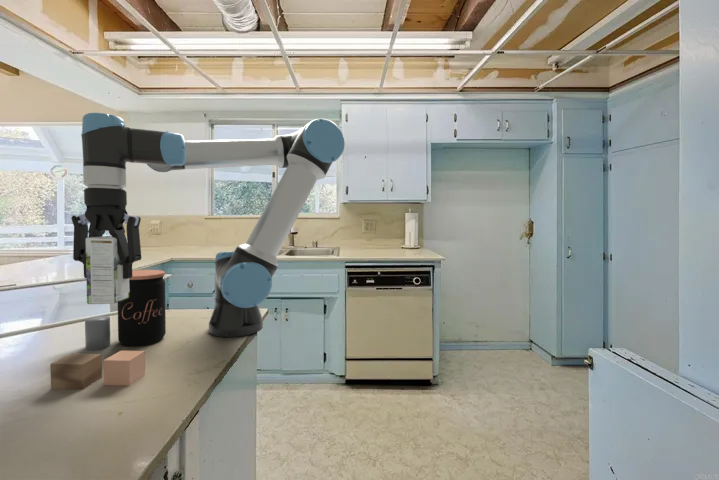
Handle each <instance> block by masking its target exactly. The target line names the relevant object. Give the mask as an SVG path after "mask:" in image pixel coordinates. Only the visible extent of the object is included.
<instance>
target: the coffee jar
mask: <svg viewBox="0 0 719 480" xmlns="http://www.w3.org/2000/svg"><path fill="white" fill-rule="evenodd" d="M165 275H166V272H165V271H164V270H160V269H141V270H140V269H139V270H138V269H137V270H132V278H129V289H130V292H129V298H127V299H125V300H123V301H120V302H117V335H118V336H117V338H118V342H119V343H120V344H121V345H122V346H125V347H132V348H134V347H136V348H137V347H143V346H150V345H153V344H156V343H158V342H160V341H161V340H163V338H164V337H165V335H166V332H167V331H166V328H167V326H166V324H167V323H166V280H165V279H164V277H165Z"/></svg>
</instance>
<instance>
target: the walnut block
mask: <svg viewBox="0 0 719 480" xmlns="http://www.w3.org/2000/svg"><path fill="white" fill-rule="evenodd" d="M102 355H103V354H102V353H70V354H68V355H66V356H64V357H62V358H59V359H57V360H55V361H53V362H51V363H49V364H50V366H49V369H50V389H51V390H80V391H81V390H82V391H84V390H85V389H87V388H88V387H90V386H91V385H92V383H93V384H94V382H95V383H96V382H98V381H100V380H101V379H103V356H102ZM97 380H98V381H97ZM89 385H90V386H89Z"/></svg>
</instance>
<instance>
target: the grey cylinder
mask: <svg viewBox="0 0 719 480" xmlns="http://www.w3.org/2000/svg"><path fill="white" fill-rule="evenodd" d="M84 335H85V337H84V338H85V339H84V340H85V341H84V342H85V343H84V344H85V351H86V350H87V351H97V350H98V351H99V350H103V349H106V348H109V347H110V346H111V317H110V316H105V315H101V316H93V317H89V318H86V319H85V320H84Z"/></svg>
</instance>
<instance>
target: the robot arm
mask: <svg viewBox="0 0 719 480" xmlns="http://www.w3.org/2000/svg"><path fill="white" fill-rule="evenodd" d="M81 127H82V128H81V135H80V136H81V145H82V162H83V164H82V175H83V176H82V178H83V180H82V181H83V185H84V186H86V187H85V188H84V189H83V197H84V199H83V201H84V204H85V206H86V209H85V211H84V214H79V215H72V216H71V217H70V218H71V221H72V224H73V251H72V252H73V253H72V254H73V255H72V259H73V261H75V262H80V263H82V264H83V277H84V279H86V238H90V237H101V236H104V234H106V232H107V231H108V233H109V236H112V238H116V239H117V252H118V255H119V258H120V261H121V263H119V265H117V275H118V294H121V295H122V294H125V293H128V292H130V289H129V278H132V271H133V264H134V263H136V262H138V261H141V260H142V250H141V248H142V247H141V238H140V224H141V219H142V218H141V216H138V215H137V216H135V215H134V216H133V215H130V214H129V213H128V211H127V209H126V208H127V206H128V204H127V203H128V200H127V197H128V196H127V195H128V194H127V191H126V190H125V189H124V188H126V187H127V172H126V171H127V167H126V165H127V163H131V164H132V163H133V164H145V165H147V166H148V168H150V169H152V170H153V171H155V172H159V173H167V172H171V171H182V170H199V169H217V168H219V169H220V168H221V169H222V168H239V167H257V166H259V167H260V166H262V167H263V166H277V167H278V169H284V168H285V171H284V173H283V174H282V176H281V178H280V180H279V181H278V184H277V185H276V187H275V189H274V191H273V193H272V195H271V196H270V198H269V200H268V202H267V204H266V206H265V208H264V209H263V211H262V213H261V215H260V217H259V218H258V220H257V222H256V224H255V225H254V227H253V229H252V231H251V233H250V234H249V237H248V238H247V240H246V242H244V243H242V244H239V245H237V246H236V247H235V249H234V251H220V252H217V253H216V255H215V258H214V259H215V260H214V266H215V274H214V275H215V283H214V284H215V288H214V289H215V293H214V294H215V295H214V296H215V297H214V299H215V300H214V301H215V303H214V307H213V311H212V314H211V316H210V319H209V322H208V332H209V334H210V335H213V336H217V337H222V338H231V337H232V338H233V337H234V338H235V337H242V336H243V337H245V336H249V335H253V334H255V333H256V334H257V333H258V332H260V331H262V329H263V328H264V319H263V316H262V313H261V309H260V307H259V305H261V304H262V303H264V302H265V300H267V298H268V296H269V295H270V293H271V291H272V286H273V276H274V275H275V273H276V271H277V269H278V267H279V263H278V260H277V256H278V255H279V253H280V251H281V249H282V247H283V245H284V244H285V241H286V239H287V238H288V236H289V234H290V232H291V230H292V228H293V227H294V224H295V223H296V220H297V218H298V217H299V215H300V213H301V211H302V209H303V207H304V206H305V203H306V202H307V199H308V197H309V196H310V194H311V192H312V189H313V188H314V186H315V184H316V183H317V181H318V180H321V179H324V178H325V177H326V175H327V173H328V171H329V170H330V168H331V166H332V164H333V163H334V162H336V161H337V160H339V159H340V158H341V156H342V155H343V152H344V149H345V145H346V142H345V138H344V135H343V132H342V130H341V129H340V127H339V126H338V125H337V124H336V123H335V122H333V121H332V120H329V119H328V118H327V119H326V118H316V119H312V120H309V122H307V123H306V124H305V125H304V126H303V127H301V128H300V129H299V130H297V131H295V132H292V133H289V134H282V135H280V134H278V135H276V136H275V137H274V138H255V139H254V138H253V139H251V138H249V139H247V138H245V139H206V140H205V139H204V140H200V139H199V140H197V139H196V140H186V139H185V136H184V135H183V134H182V133H175V132H171V131H168V130H167V131H162V130H161V131H160V130H152V129H151V130H150V129H143V128H141V129H140V128H133V127H127V126H126V124H125V120H124V119H123V118H122V117H120V116H117V115H114V114H108V113H102V112H89V113H86V114H84V115H83V116H82V125H81ZM124 223H125V225H126V230H125V227H124ZM125 233H126V234H125ZM126 237H127V240H126ZM127 241H128V243H127Z"/></svg>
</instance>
